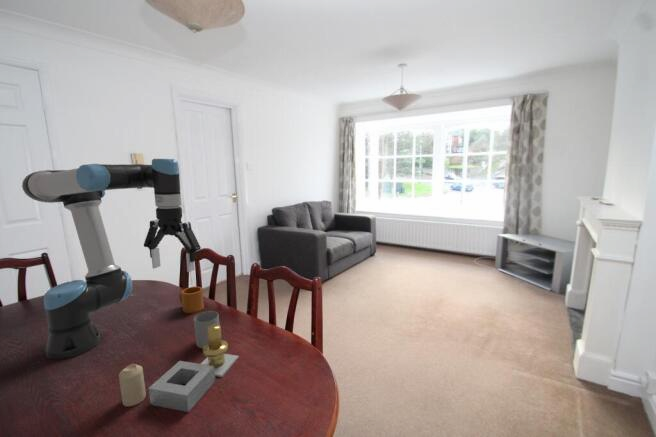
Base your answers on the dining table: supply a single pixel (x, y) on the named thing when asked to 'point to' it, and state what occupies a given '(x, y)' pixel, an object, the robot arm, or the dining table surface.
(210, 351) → the gold flanged shaft
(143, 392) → the candle
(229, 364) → the mat
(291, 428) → the dining table surface
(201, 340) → the cup
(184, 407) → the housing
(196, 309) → the mug
